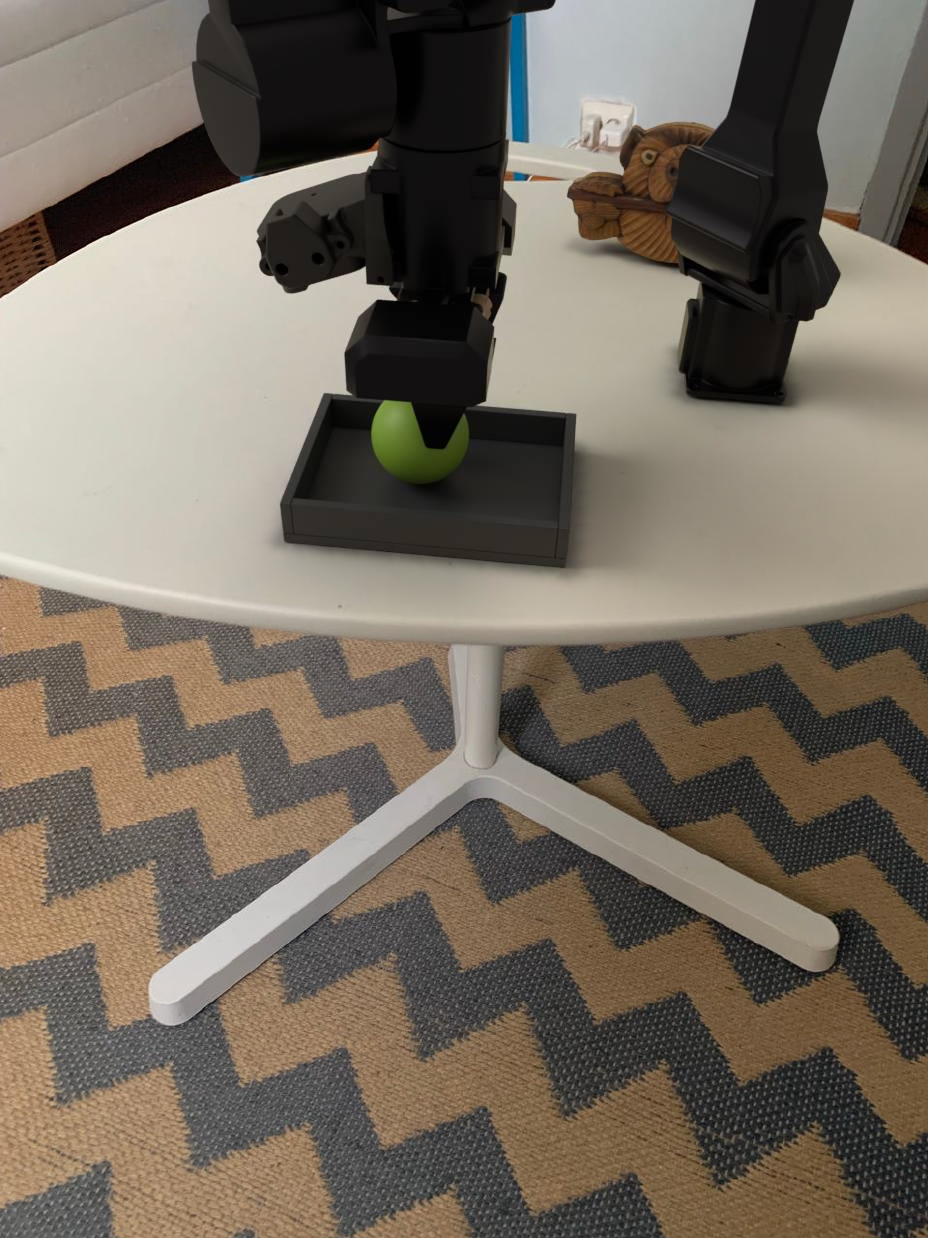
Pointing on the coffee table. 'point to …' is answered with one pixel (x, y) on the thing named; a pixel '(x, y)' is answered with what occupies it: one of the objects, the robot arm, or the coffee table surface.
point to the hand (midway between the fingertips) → (439, 430)
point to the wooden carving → (637, 191)
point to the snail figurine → (417, 438)
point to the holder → (437, 488)
